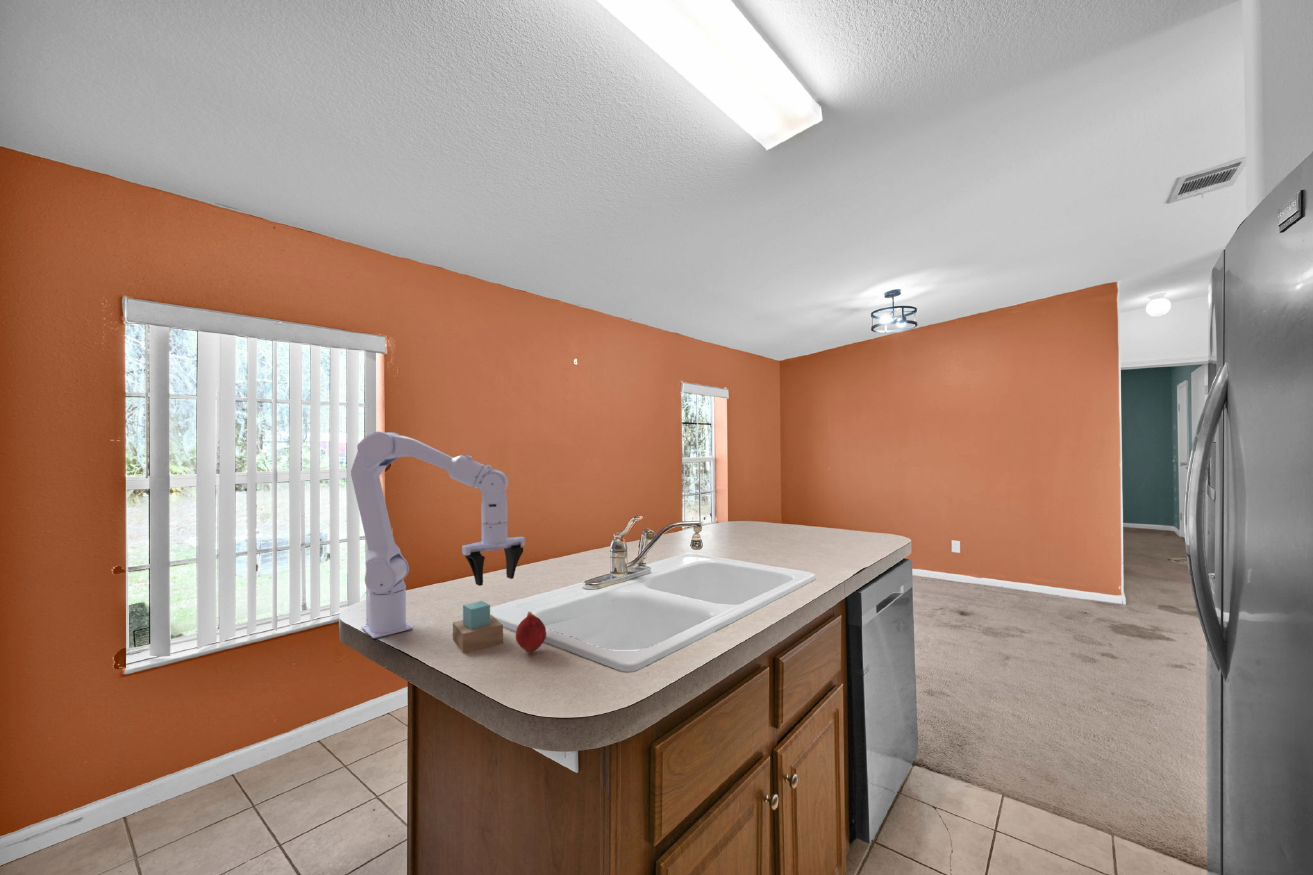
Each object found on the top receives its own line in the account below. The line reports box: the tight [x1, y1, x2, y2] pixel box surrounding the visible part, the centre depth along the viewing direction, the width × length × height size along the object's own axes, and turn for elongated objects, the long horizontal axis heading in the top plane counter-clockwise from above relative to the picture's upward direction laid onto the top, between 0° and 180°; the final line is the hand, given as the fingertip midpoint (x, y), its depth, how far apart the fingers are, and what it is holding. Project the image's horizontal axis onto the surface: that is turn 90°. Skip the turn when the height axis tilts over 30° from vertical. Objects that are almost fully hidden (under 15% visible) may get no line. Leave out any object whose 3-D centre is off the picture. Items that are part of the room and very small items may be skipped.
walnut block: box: [452, 614, 504, 653], centre depth 104 cm, size 8×8×4 cm
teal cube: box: [462, 600, 491, 629], centre depth 104 cm, size 4×4×4 cm
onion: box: [515, 611, 547, 654], centre depth 98 cm, size 6×6×8 cm
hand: (495, 581), depth 115 cm, fingers open, 7 cm apart
